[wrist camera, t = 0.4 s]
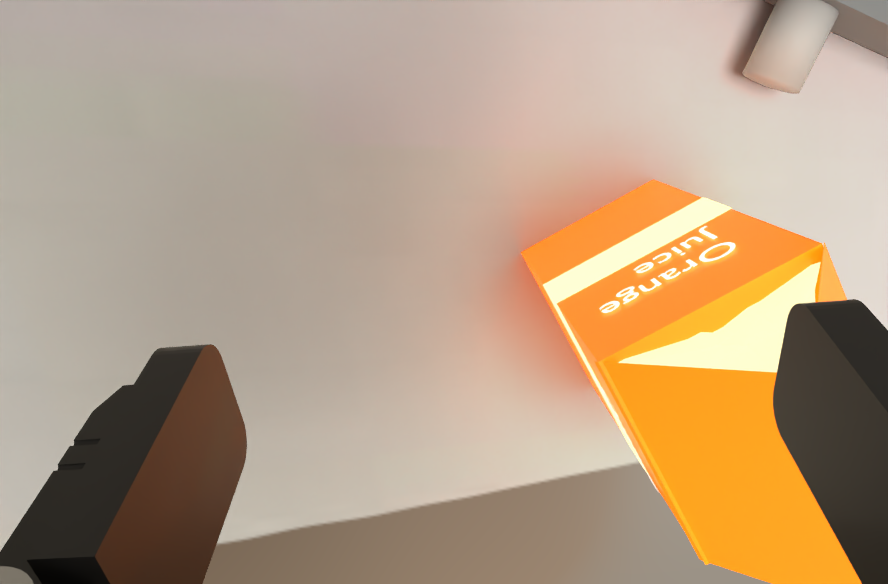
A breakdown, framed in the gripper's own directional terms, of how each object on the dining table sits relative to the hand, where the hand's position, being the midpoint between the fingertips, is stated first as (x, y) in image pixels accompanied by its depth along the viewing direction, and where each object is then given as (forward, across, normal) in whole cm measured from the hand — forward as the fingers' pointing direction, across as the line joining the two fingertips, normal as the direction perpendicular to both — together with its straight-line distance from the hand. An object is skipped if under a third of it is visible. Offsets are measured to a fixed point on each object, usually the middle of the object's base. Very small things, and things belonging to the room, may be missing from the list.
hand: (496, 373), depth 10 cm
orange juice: (+23, -7, +14) cm, 28 cm away
